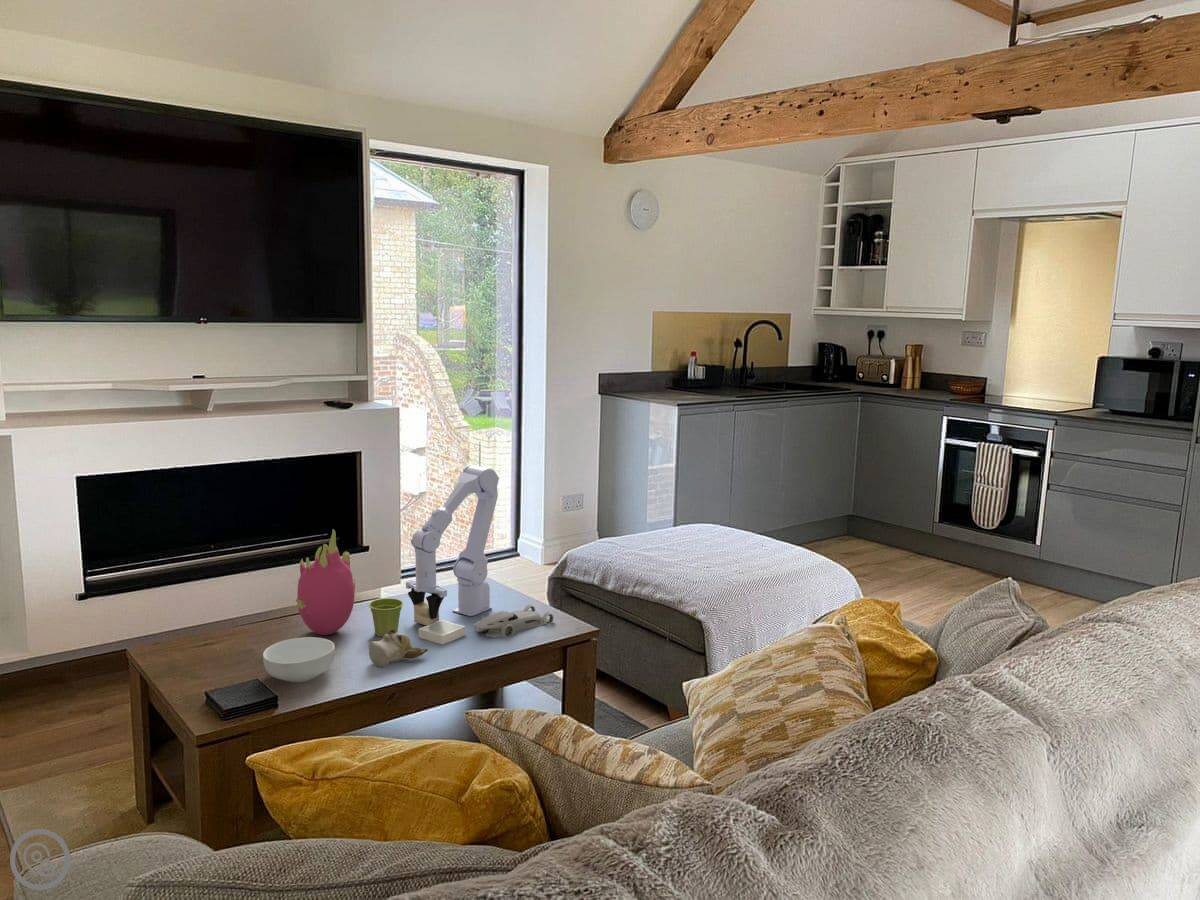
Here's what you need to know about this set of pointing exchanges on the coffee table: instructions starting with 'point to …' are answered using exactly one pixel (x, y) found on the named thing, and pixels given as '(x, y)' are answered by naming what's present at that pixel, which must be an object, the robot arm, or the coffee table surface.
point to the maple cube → (423, 614)
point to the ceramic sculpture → (393, 649)
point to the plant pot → (386, 615)
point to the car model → (511, 622)
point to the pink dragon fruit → (326, 590)
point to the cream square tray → (441, 632)
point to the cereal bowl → (299, 658)
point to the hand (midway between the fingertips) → (426, 616)
